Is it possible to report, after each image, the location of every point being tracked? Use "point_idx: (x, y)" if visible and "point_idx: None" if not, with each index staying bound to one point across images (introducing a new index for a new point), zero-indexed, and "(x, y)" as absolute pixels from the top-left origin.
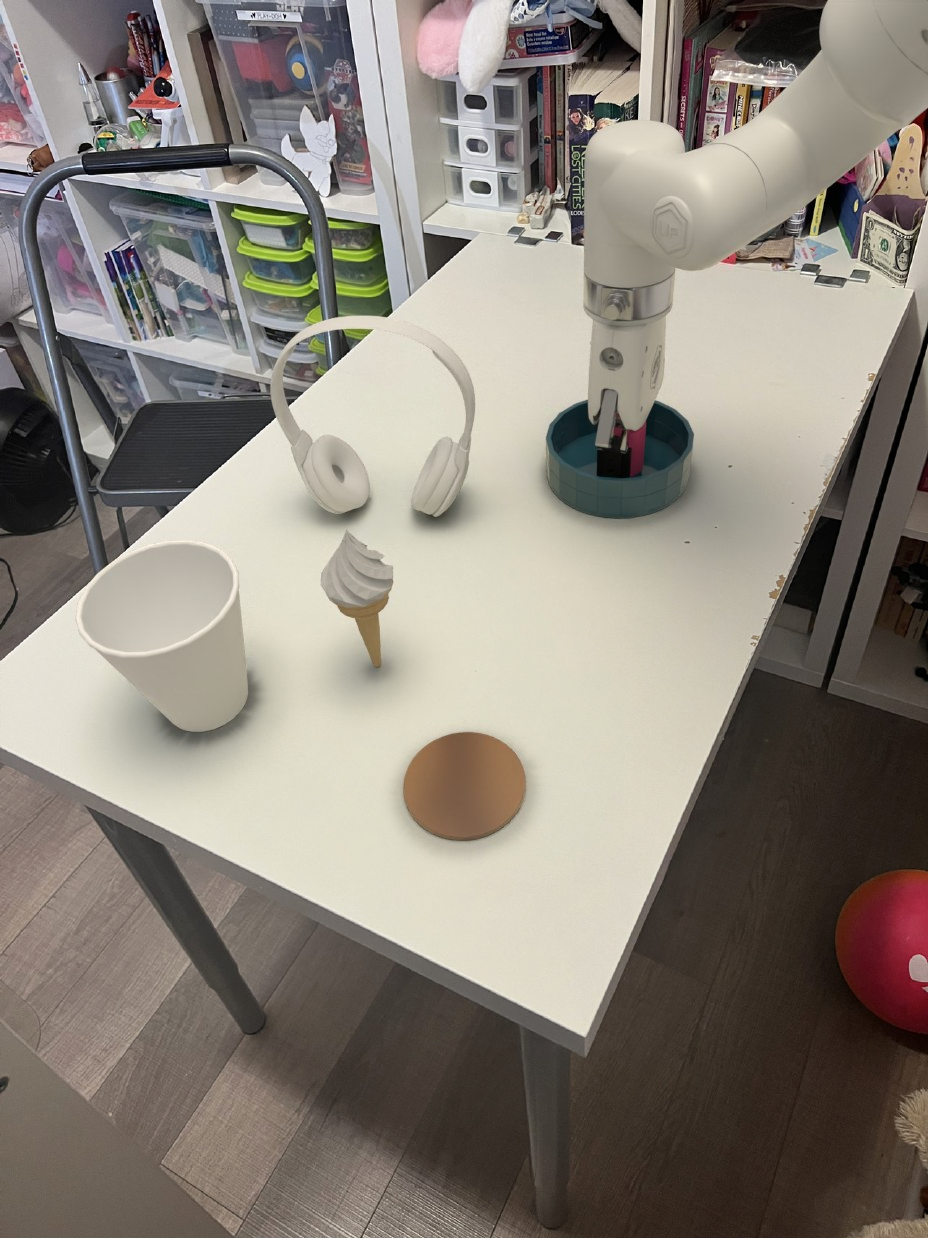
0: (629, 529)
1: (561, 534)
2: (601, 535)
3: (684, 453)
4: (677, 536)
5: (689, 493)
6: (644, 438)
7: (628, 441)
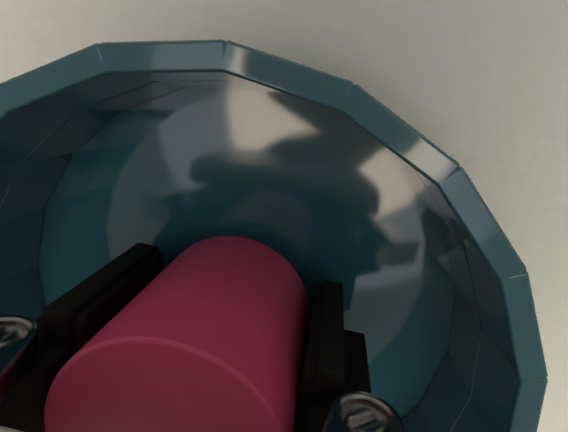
0: (520, 246)
1: (541, 428)
2: (549, 326)
3: (285, 83)
4: (564, 82)
5: (313, 57)
6: (204, 299)
7: (340, 428)
